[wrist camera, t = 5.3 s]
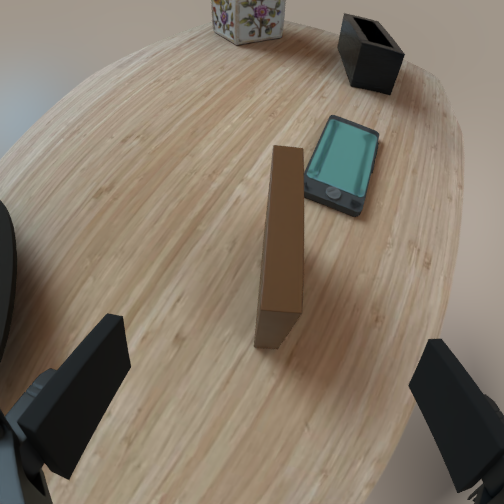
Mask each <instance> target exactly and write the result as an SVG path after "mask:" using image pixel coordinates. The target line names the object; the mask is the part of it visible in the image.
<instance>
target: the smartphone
mask: <svg viewBox="0 0 504 504" xmlns="http://www.w3.org/2000/svg"><path fill="white" fill-rule="evenodd" d="M378 138H379V133H378V132H377V131H375V130H372V129H370V128H367V127H365V126H362V125H360V124H357V123H354V122H352V121H349V120H346V119H344V118H341V117H338V116H335V115H331V116H330V117H329V119H328V121H327V123H326V126H325V128H324V130H323V132H322V135H321V137H320V139H319V141H318V144H317V146H316V148H315V150H314V152H313V155H312V157H311V159H310V161H309V164H308V166H307V168H306V170H305V172H304V197H305V198H308V199H310V200H313V201H316V202H318V203H321V204H323V205H326V206H328V207H331V208H333V209H336V210H338V211H341V212H343V213H346V214H348V215H351V216H353V217H357V216H359V215H360V213H361V211H362V209H363V205H364V201H365V197H366V193H367V189H368V184H369V180H370V176H371V173H373V168H374V164H375V158H376V154H377V149H378V144H379V143H378Z"/></svg>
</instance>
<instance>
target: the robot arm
mask: <svg viewBox="0 0 504 504" xmlns="http://www.w3.org/2000/svg"><path fill="white" fill-rule="evenodd" d="M130 368H131V364H130V358H129V353H128V347H127V341H126V335H125V328H124V321H123V316H118V315H113V314H108V313H107V314H106V315H105V316H104V317H103V319H102V320H101V321H100V322H99V323H98V324H97V325H96V326H95V327H94V329H93V330H92V331H91V332H90V333H89V334H88V335H87V336H86V338H85V339H84V340H83V341H82V342H81V343H80V344H79V345H78V347H77V348H76V349H75V350H74V351H73V352H72V354H71V355H70V356H69V357H68V358H67V359H66V361H65V362H64V363H63V364H62V365H61V367H60V368H59V369H58V370H54V369H51V368H50V369H48V370H47V371H45V372H43V373H42V374H40V375H39V376H38V377H37V378H36V379H35V381H34V382H33V383H32V385H30V386H29V388H28V389H27V390H26V392H24V394H23V395H22V396H21V397H20V398H19V400H18V401H17V402H16V403H15V405H14V406H13V407H12V408H11V410H10V411H9V412H8V413H7V415H6V416H4V414H3V412H2V411H1V409H0V504H53V503H52V500H51V496H50V493H49V490H48V486H47V483H46V479H45V476H44V473H43V471H42V469H41V468H42V466H43V465H44V463H45V464H46V465H47V467H48V468H49V469H50V470H51V471H52V472H54V473H56V474H58V475H60V476H62V477H64V478H66V479H68V480H69V479H70V477H71V475H72V473H73V471H74V469H75V467H76V465H77V464H78V462H79V460H80V458H81V456H82V454H83V452H84V450H85V448H86V446H87V445H88V443H89V441H90V439H91V437H92V435H93V433H94V432H95V430H96V428H97V426H98V424H99V422H100V421H101V419H102V417H103V415H104V413H105V412H106V410H107V408H108V406H109V404H110V403H111V401H112V399H113V397H114V396H115V394H116V392H117V390H118V389H119V387H120V385H121V383H122V382H123V380H124V378H125V377H126V375H127V373H128V371H129V370H130ZM408 386H409V388H410V390H411V392H412V394H413V396H414V398H415V400H416V402H417V404H418V406H419V408H420V410H421V412H422V414H423V416H424V418H425V420H426V422H427V424H428V426H429V428H430V431H431V433H432V435H433V437H434V439H435V441H436V444H437V446H438V448H439V450H440V452H441V455H442V457H443V459H444V462H445V464H446V466H447V468H448V471H449V473H450V476H451V478H452V481H453V483H454V486H455V488H456V490H457V493H460V492H462V491H465V490H467V489H469V488H472V487H473V486H474V485H475V484H476V483H477V482H478V481H479V480H480V479H482V481H483V484H482V485H481V486H480V487H479V488H477V489H476V490H475V491H474V492H473V493H472V494H471V495H470V496H469V498H468V500H470V499H471V498H472V497H474V496H475V495H476V494H477V496H476V497H475V498H474V499H473V501H474V502H475V503H474V504H504V415H503V414H502V412H501V411H500V409H499V408H498V406H497V405H496V403H495V402H494V401H493V400H492V399H491V398H489V397H488V396H487V395H484V394H483V393H482V392H481V391H480V389H479V387H478V386H477V385H476V383H475V382H474V381H473V379H472V378H471V376H470V375H469V374H468V372H467V371H466V370H465V368H464V367H463V366H462V364H461V363H460V362H459V360H458V359H457V358H456V357H455V355H454V354H453V353H452V352H451V350H450V349H449V348H448V346H447V345H446V344H445V343H444V342H443V340H442V339H428V342H427V344H426V347H425V349H424V352H423V354H422V356H421V359H420V361H419V363H418V366H417V368H416V370H415V372H414V374H413V377H412V379H411V381H410V383H409V385H408Z"/></svg>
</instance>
